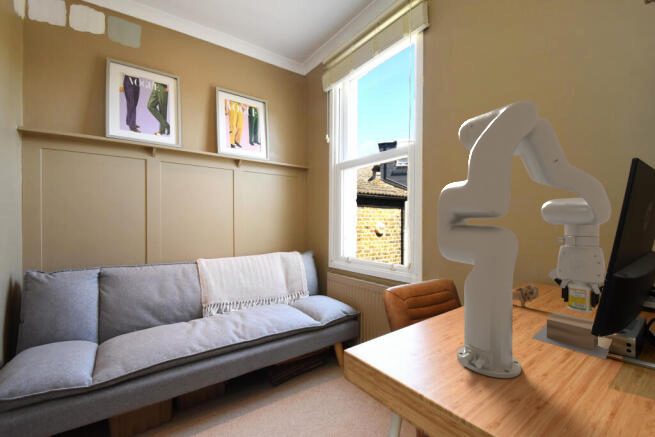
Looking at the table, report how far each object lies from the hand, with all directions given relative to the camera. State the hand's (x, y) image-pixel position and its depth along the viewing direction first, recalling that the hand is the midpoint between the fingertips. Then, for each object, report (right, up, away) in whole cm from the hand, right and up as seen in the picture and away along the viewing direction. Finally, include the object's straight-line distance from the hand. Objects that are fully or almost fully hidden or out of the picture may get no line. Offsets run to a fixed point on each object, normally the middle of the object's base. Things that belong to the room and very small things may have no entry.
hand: (579, 303), depth 80 cm
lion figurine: (-4, -8, +21) cm, 23 cm away
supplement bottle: (0, -2, 0) cm, 2 cm away
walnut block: (-9, -7, -7) cm, 13 cm away
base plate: (-9, -8, -7) cm, 14 cm away
